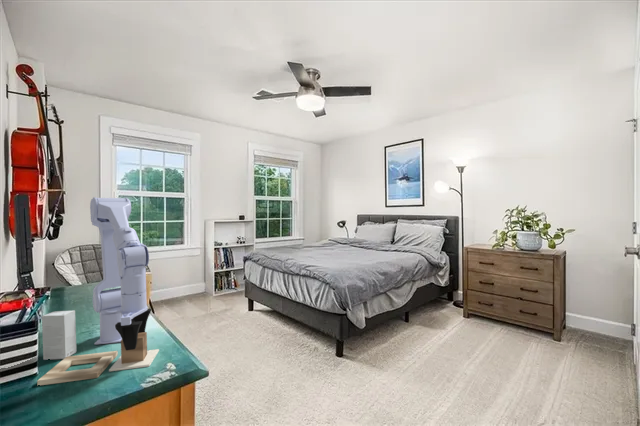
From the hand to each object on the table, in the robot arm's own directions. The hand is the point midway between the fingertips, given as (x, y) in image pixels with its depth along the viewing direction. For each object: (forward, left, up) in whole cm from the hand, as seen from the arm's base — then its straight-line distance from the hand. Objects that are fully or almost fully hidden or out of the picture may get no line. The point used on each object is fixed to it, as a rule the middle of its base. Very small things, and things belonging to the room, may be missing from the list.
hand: (135, 343), depth 81 cm
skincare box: (-9, -22, -5) cm, 24 cm away
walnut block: (0, 0, -4) cm, 4 cm away
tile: (0, 0, -5) cm, 5 cm away
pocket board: (+1, -12, -5) cm, 13 cm away
